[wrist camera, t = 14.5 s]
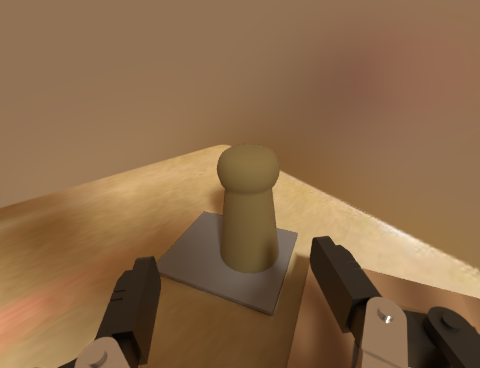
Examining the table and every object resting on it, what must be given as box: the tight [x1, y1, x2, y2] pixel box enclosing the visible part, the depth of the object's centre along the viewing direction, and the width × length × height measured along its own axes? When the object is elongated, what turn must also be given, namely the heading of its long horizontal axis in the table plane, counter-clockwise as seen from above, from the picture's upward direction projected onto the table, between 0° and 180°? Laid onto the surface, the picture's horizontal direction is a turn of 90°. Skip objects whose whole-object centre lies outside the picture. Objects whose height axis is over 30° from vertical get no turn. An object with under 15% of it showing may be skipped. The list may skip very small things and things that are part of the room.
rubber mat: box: [156, 211, 298, 315], centre depth 25 cm, size 12×10×1 cm
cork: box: [217, 144, 280, 274], centre depth 22 cm, size 6×6×11 cm
